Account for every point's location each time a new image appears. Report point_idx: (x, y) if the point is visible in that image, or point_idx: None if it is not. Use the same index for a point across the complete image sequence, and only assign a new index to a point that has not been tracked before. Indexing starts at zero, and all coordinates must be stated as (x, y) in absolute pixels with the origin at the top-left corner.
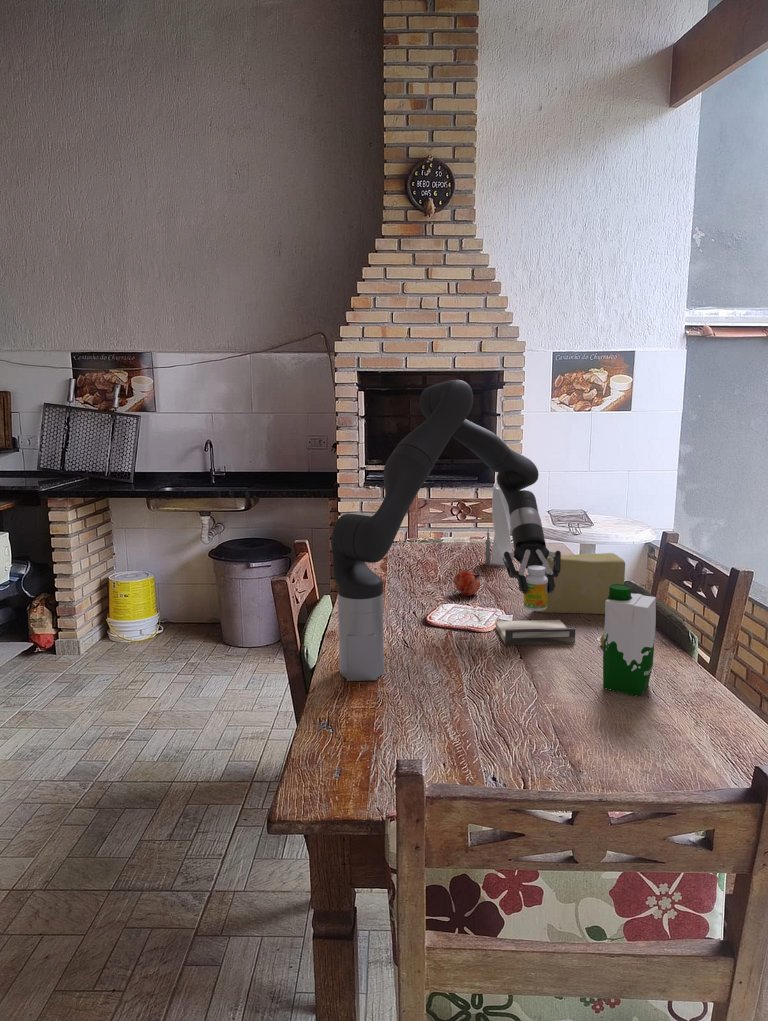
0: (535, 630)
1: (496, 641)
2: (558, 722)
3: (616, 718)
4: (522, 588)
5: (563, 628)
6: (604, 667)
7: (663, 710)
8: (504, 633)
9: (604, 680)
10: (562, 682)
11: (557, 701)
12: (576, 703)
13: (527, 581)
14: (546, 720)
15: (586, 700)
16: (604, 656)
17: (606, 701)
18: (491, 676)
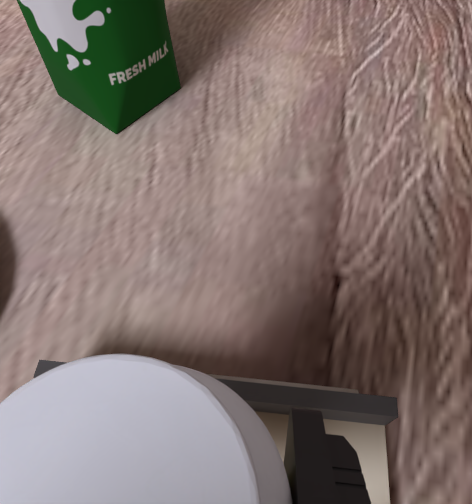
0: (240, 382)
1: (413, 475)
2: (335, 8)
3: (222, 8)
4: (334, 435)
5: None
6: (169, 43)
7: None
8: (378, 493)
9: (176, 67)
10: (264, 123)
11: (311, 59)
12: (273, 50)
13: (278, 456)
14: (356, 14)
15: (246, 56)
16: (163, 17)
17: (206, 50)
18: (455, 173)
